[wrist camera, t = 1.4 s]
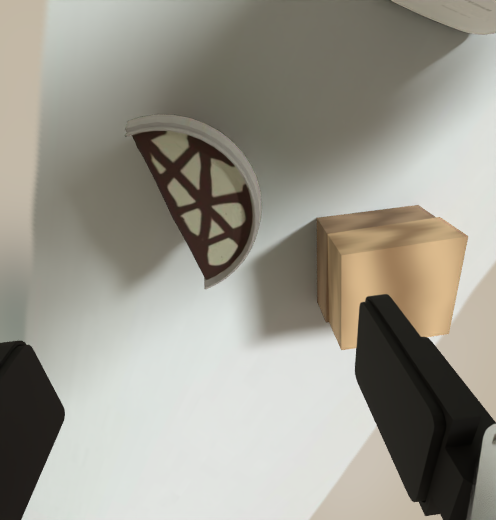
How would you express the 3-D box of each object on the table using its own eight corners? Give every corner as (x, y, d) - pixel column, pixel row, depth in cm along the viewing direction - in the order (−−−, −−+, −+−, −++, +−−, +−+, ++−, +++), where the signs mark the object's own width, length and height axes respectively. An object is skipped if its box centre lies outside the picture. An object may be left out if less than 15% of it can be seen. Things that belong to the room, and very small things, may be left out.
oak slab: (439, 217, 31) (468, 236, 27) (426, 307, 36) (448, 333, 32) (327, 233, 31) (341, 255, 27) (329, 322, 36) (341, 350, 32)
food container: (270, 214, 33) (288, 266, 25) (210, 236, 34) (207, 295, 25) (220, 78, 28) (222, 83, 19) (149, 107, 28) (119, 125, 19)
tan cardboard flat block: (416, 203, 34) (438, 219, 31) (404, 288, 39) (422, 309, 36) (315, 216, 34) (326, 233, 31) (316, 299, 39) (326, 322, 36)
